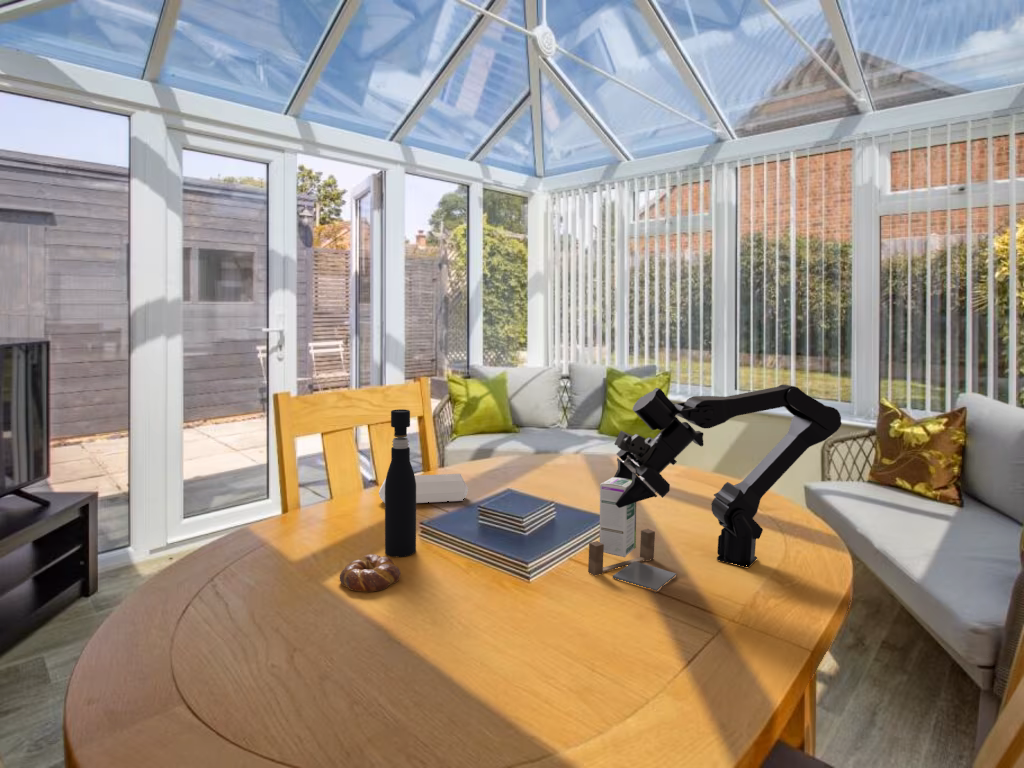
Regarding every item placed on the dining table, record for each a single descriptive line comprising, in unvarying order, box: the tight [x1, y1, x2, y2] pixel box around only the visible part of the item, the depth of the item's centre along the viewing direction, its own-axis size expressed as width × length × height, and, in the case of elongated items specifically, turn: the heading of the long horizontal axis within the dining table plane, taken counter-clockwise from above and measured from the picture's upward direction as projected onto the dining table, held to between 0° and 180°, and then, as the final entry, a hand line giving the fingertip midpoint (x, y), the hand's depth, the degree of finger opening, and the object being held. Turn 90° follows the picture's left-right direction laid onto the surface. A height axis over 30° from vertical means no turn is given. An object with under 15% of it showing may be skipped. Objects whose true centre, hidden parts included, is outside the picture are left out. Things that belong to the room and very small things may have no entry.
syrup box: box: [599, 476, 637, 558], centre depth 120 cm, size 6×6×14 cm
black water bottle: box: [384, 408, 417, 558], centre depth 122 cm, size 6×6×30 cm
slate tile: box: [612, 561, 677, 591], centre depth 114 cm, size 9×9×1 cm
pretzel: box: [339, 553, 401, 593], centre depth 111 cm, size 12×11×4 cm
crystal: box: [378, 473, 469, 504], centre depth 158 cm, size 7×7×24 cm
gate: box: [587, 528, 656, 577], centre depth 119 cm, size 16×2×6 cm, turn 122°
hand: (611, 499), depth 119 cm, fingers closed on syrup box, 8 cm apart
